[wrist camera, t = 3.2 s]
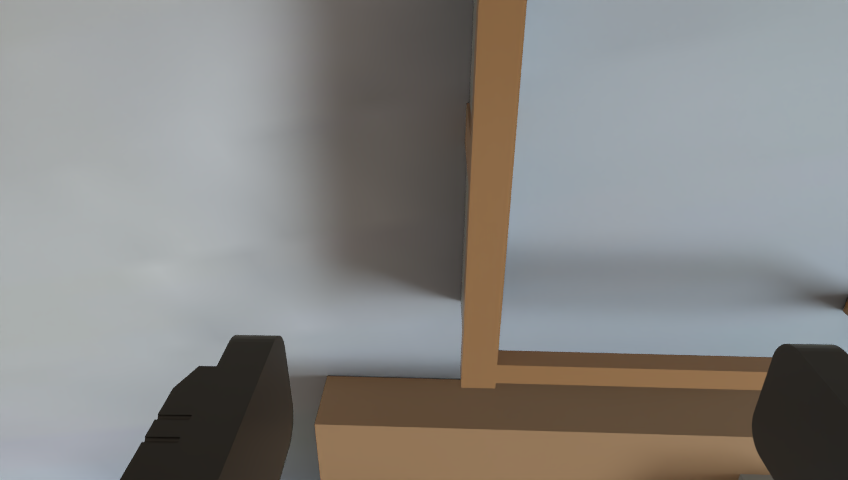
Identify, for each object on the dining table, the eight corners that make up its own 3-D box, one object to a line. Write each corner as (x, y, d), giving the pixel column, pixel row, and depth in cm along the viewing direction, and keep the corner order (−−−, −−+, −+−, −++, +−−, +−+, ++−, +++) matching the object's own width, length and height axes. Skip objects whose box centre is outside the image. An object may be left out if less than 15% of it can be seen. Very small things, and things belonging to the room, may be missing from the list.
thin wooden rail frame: (476, -137, 18) (486, -157, 13) (1066, -134, 17) (1278, -155, 13) (458, 306, 25) (460, 387, 21) (870, 316, 25) (961, 401, 20)
